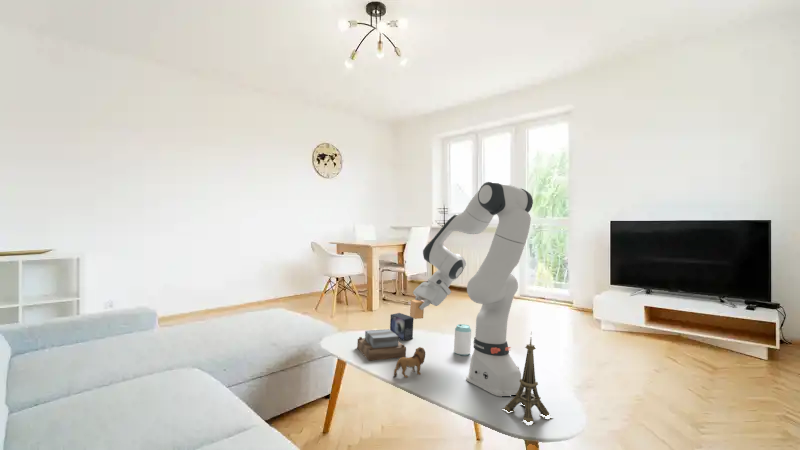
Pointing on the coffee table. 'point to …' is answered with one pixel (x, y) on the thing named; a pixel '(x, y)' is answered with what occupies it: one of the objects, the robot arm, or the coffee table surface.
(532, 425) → the coffee table surface
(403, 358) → the lion figurine
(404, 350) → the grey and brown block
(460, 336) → the can
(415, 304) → the orange brick
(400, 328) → the small box
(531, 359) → the eiffel tower
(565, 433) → the coffee table surface
